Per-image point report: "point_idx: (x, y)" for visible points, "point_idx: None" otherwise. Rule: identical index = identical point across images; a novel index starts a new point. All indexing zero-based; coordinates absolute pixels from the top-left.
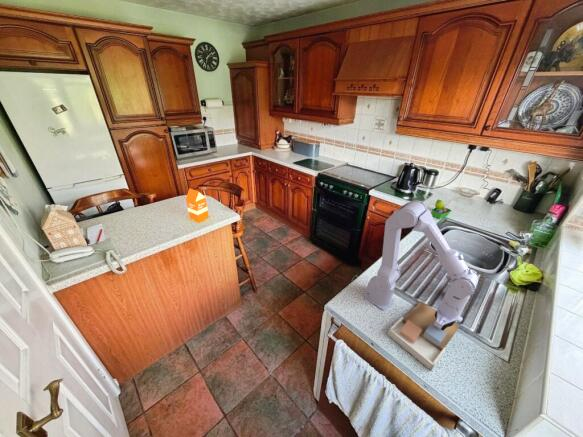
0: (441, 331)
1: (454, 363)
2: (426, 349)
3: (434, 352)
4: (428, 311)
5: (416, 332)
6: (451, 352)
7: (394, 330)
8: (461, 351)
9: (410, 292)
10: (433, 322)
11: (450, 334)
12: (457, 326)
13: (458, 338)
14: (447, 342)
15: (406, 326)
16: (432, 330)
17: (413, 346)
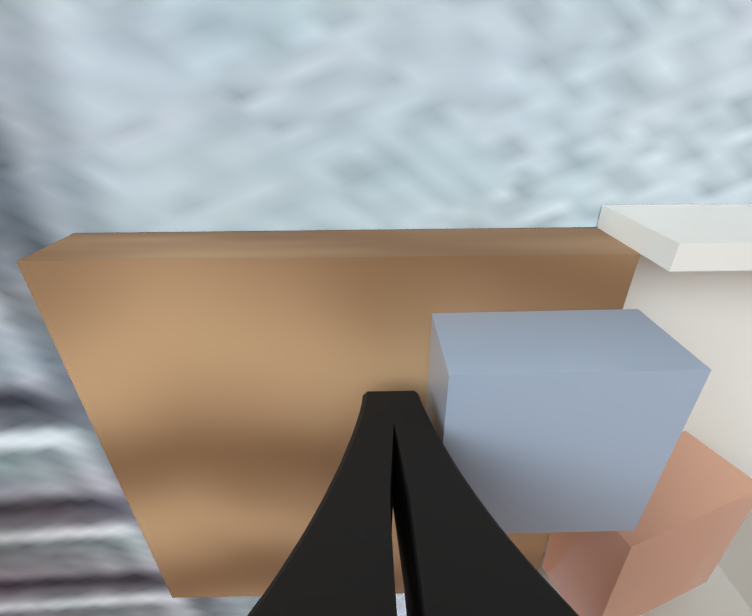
0: (481, 431)
1: (650, 42)
2: (680, 342)
3: (672, 280)
4: (225, 530)
5: (680, 539)
6: (498, 144)
7: None
8: (371, 52)
9: (156, 612)
10: (317, 459)
11: (304, 285)
12: (66, 279)
13: (199, 170)
14: (479, 260)
15: (657, 597)
16: (557, 493)
17: (724, 421)
